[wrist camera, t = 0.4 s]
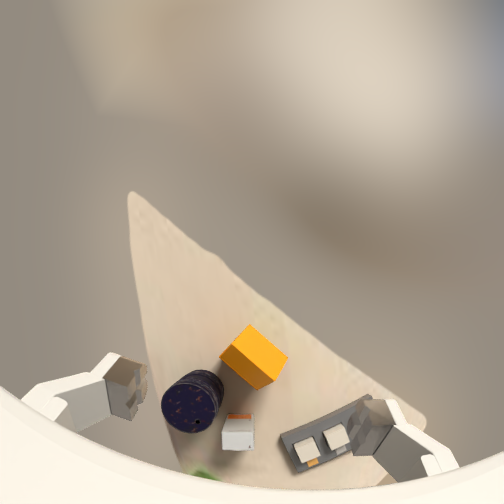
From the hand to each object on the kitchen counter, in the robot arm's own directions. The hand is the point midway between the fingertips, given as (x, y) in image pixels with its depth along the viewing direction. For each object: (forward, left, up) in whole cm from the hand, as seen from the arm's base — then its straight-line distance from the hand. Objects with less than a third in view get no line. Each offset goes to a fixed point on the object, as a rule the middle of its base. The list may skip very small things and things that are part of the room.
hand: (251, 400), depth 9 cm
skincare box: (-18, +10, -52) cm, 56 cm away
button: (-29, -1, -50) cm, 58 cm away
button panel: (-30, -8, -52) cm, 60 cm away
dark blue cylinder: (-8, +15, -52) cm, 55 cm away
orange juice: (-3, +1, -52) cm, 52 cm away
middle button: (-29, -8, -50) cm, 58 cm away
